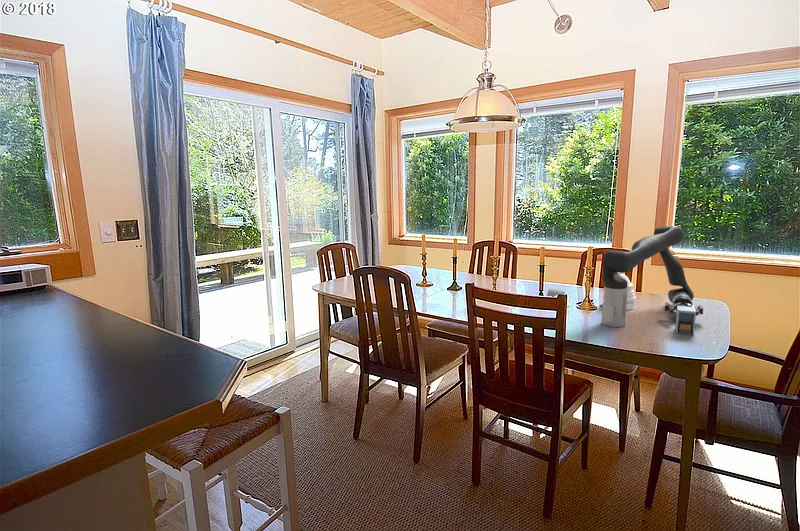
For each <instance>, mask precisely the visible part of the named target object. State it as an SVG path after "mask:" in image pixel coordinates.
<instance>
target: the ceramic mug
mask: <svg viewBox="0 0 800 531" xmlns="http://www.w3.org/2000/svg"><path fill="white" fill-rule="evenodd" d="M546 293H547V294H546V297H547V296H552V297H554V296H556V295H558V294H565V295H566V292H565V291H563V290H559V289H554V288H548V290H547V292H546Z"/></svg>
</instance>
